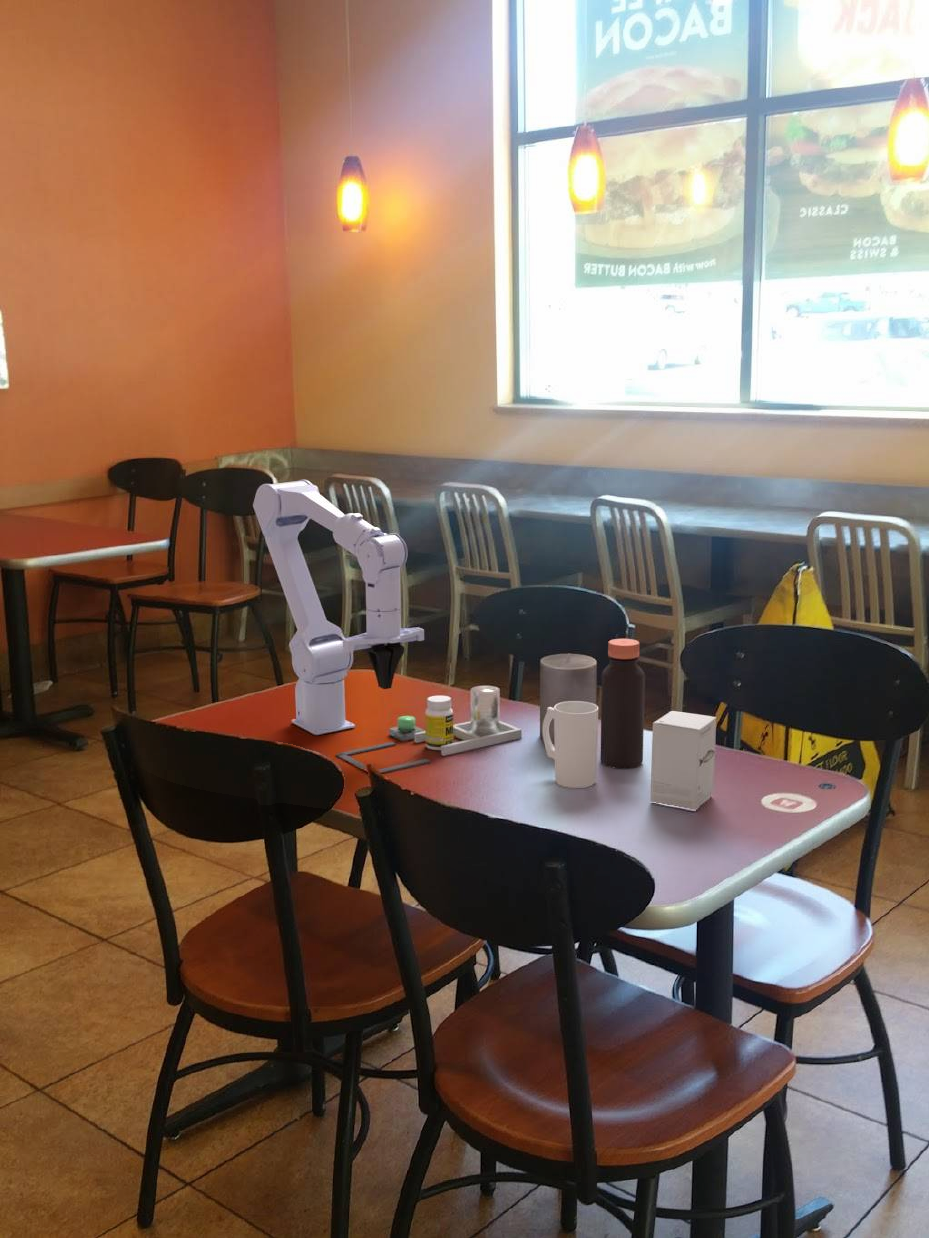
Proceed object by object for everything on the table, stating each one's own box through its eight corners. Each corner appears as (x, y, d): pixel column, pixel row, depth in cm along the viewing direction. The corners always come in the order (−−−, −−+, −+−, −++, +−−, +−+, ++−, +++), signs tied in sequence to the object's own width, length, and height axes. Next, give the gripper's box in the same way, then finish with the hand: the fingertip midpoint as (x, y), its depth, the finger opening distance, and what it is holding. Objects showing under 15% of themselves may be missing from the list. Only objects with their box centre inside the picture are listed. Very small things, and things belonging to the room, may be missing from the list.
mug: (606, 781, 191) (607, 707, 188) (578, 792, 186) (579, 716, 183) (557, 766, 198) (557, 694, 195) (528, 776, 193) (529, 703, 190)
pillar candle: (546, 726, 218) (546, 644, 214) (600, 730, 215) (601, 647, 212) (534, 744, 209) (533, 659, 205) (591, 748, 206) (591, 662, 203)
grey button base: (389, 734, 214) (389, 728, 214) (410, 730, 217) (410, 723, 216) (402, 741, 211) (402, 734, 210) (424, 736, 213) (424, 730, 213)
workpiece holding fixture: (414, 741, 210) (414, 733, 210) (490, 724, 219) (490, 716, 219) (443, 755, 203) (443, 747, 203) (521, 737, 212) (521, 729, 212)
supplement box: (696, 813, 178) (699, 729, 175) (648, 803, 181) (650, 721, 179) (714, 797, 184) (718, 716, 181) (668, 788, 188) (670, 708, 185)
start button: (394, 733, 214) (394, 717, 213) (409, 730, 216) (409, 714, 215) (403, 737, 211) (403, 722, 211) (418, 734, 213) (418, 719, 213)
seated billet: (465, 733, 214) (464, 688, 212) (488, 728, 216) (488, 684, 215) (481, 740, 210) (481, 695, 208) (505, 735, 212) (505, 690, 211)
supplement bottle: (449, 751, 205) (449, 703, 203) (422, 750, 206) (421, 701, 204) (456, 742, 210) (456, 695, 208) (429, 741, 211) (429, 693, 209)
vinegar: (651, 761, 199) (654, 641, 195) (626, 772, 195) (628, 649, 190) (616, 752, 204) (619, 635, 200) (591, 762, 199) (593, 642, 195)
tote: (335, 755, 204) (335, 753, 204) (391, 743, 210) (391, 741, 210) (372, 775, 194) (372, 774, 194) (430, 762, 200) (430, 760, 200)
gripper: (356, 618, 196) (358, 700, 199) (433, 607, 204) (434, 686, 207) (335, 610, 202) (337, 689, 205) (411, 599, 210) (412, 676, 213)
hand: (384, 687), depth 206 cm, fingers closed
